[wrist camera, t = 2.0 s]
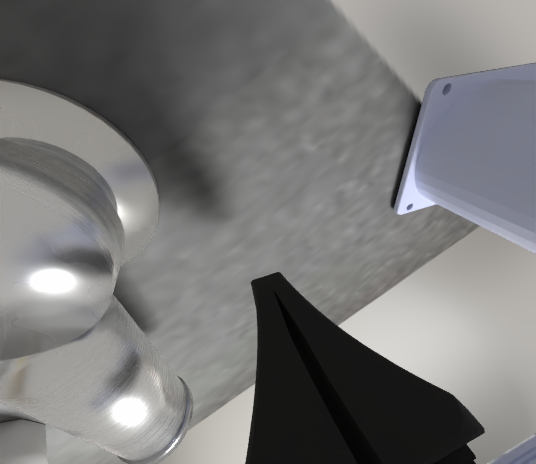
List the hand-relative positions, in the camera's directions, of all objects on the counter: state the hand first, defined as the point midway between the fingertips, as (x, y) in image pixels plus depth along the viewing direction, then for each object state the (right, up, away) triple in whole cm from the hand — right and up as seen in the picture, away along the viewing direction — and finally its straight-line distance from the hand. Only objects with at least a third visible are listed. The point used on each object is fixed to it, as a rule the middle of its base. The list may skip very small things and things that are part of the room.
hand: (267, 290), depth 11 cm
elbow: (-8, -1, -1) cm, 8 cm away
